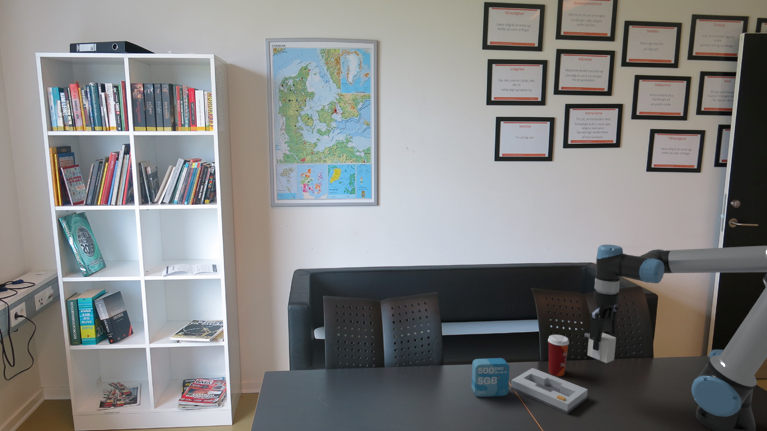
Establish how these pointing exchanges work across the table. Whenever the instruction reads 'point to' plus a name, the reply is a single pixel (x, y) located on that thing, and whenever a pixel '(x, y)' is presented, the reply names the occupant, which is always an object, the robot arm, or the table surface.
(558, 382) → the socket
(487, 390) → the data package
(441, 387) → the table surface
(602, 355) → the plug
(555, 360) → the paper cup
